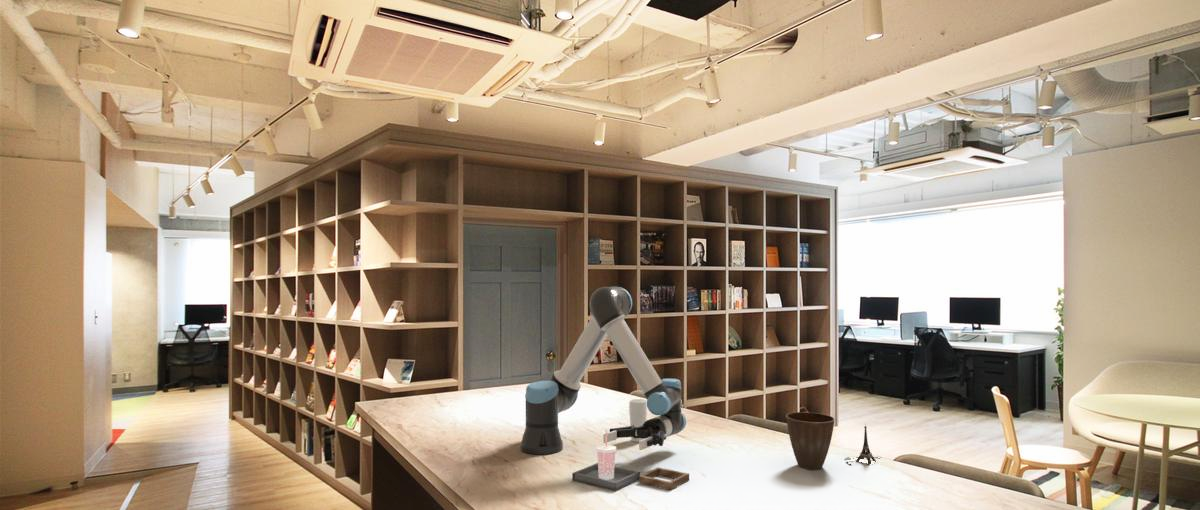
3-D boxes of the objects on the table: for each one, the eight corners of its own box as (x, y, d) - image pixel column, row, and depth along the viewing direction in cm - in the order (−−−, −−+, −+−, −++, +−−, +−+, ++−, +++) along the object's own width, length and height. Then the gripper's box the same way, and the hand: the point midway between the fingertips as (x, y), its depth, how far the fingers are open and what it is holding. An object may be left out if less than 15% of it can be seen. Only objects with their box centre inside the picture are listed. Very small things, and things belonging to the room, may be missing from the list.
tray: (572, 480, 187) (572, 473, 187) (597, 470, 198) (597, 462, 198) (616, 491, 178) (616, 483, 178) (640, 479, 188) (640, 471, 189)
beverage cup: (618, 475, 190) (619, 429, 190) (612, 481, 184) (612, 433, 185) (600, 473, 192) (600, 427, 192) (593, 479, 186) (593, 432, 187)
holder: (639, 483, 185) (639, 476, 185) (657, 473, 194) (657, 467, 194) (671, 490, 179) (671, 483, 179) (689, 480, 188) (689, 473, 188)
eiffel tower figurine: (881, 458, 212) (880, 419, 213) (895, 467, 202) (895, 426, 203) (837, 458, 212) (837, 419, 213) (849, 467, 202) (849, 426, 203)
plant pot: (836, 463, 205) (836, 414, 206) (833, 476, 192) (832, 423, 192) (790, 457, 211) (789, 410, 212) (783, 470, 198) (782, 419, 199)
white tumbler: (646, 443, 230) (645, 402, 231) (628, 442, 232) (627, 402, 232) (648, 438, 237) (648, 399, 238) (630, 438, 238) (630, 398, 239)
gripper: (689, 445, 205) (656, 460, 188) (626, 434, 220) (590, 447, 202) (689, 422, 205) (656, 435, 188) (626, 413, 220) (590, 424, 203)
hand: (621, 442), depth 195 cm, fingers open, 13 cm apart
